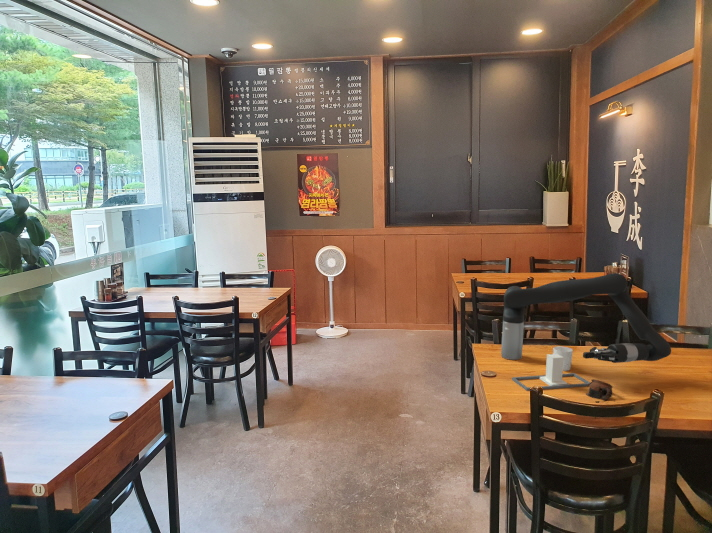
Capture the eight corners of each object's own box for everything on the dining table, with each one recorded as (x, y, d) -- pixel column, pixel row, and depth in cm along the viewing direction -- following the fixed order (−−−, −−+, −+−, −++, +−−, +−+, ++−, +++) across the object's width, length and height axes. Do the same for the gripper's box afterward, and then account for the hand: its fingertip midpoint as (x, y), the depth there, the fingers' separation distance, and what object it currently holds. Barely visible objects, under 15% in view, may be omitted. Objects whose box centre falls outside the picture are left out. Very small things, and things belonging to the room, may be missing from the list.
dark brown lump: (578, 396, 203) (584, 376, 204) (598, 406, 204) (604, 386, 206) (599, 401, 191) (605, 379, 193) (620, 411, 193) (627, 389, 194)
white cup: (568, 368, 233) (569, 346, 231) (573, 374, 225) (575, 352, 224) (549, 367, 234) (551, 346, 232) (554, 374, 226) (555, 351, 224)
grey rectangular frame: (511, 383, 215) (511, 377, 215) (573, 378, 221) (574, 373, 220) (526, 394, 204) (526, 388, 203) (591, 389, 209) (592, 383, 209)
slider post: (539, 379, 216) (541, 352, 214) (555, 377, 217) (556, 351, 215) (551, 387, 207) (553, 360, 205) (568, 385, 208) (569, 359, 207)
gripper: (612, 339, 222) (574, 341, 219) (634, 348, 209) (595, 351, 206) (610, 356, 223) (573, 359, 220) (632, 367, 210) (593, 369, 207)
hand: (584, 355), depth 213 cm, fingers closed
